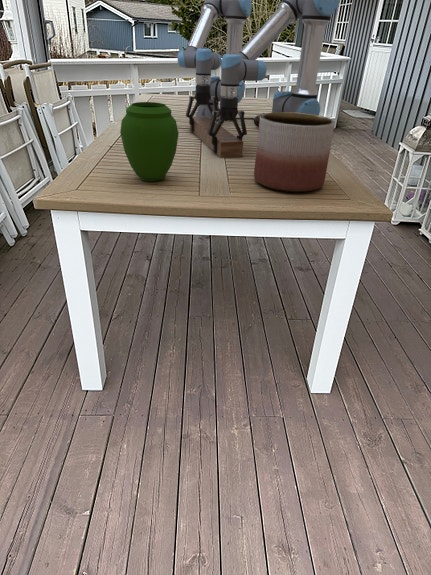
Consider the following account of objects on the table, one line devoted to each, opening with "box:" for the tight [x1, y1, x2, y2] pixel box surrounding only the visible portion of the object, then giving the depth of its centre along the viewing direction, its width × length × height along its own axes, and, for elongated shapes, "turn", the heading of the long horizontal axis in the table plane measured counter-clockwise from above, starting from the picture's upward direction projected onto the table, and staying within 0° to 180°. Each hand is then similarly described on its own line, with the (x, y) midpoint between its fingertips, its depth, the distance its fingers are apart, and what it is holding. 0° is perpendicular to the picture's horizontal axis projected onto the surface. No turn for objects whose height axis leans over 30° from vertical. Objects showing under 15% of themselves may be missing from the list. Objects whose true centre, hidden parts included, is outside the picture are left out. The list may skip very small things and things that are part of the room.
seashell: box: [252, 112, 266, 128], centre depth 231 cm, size 10×6×8 cm, turn 97°
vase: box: [119, 101, 179, 182], centre depth 140 cm, size 20×20×24 cm
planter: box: [253, 111, 336, 193], centre depth 143 cm, size 25×25×22 cm
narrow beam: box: [189, 116, 244, 159], centre depth 197 cm, size 57×10×6 cm, turn 16°
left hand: (202, 131), depth 216 cm, fingers closed on narrow beam, 10 cm apart
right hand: (226, 151), depth 182 cm, fingers closed on narrow beam, 10 cm apart
